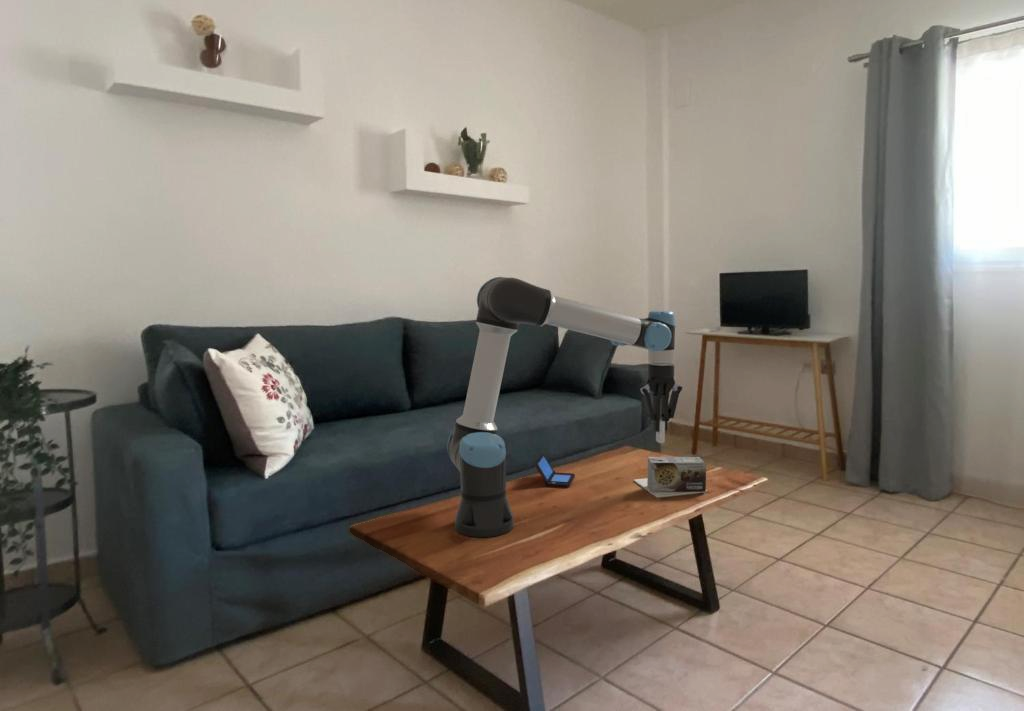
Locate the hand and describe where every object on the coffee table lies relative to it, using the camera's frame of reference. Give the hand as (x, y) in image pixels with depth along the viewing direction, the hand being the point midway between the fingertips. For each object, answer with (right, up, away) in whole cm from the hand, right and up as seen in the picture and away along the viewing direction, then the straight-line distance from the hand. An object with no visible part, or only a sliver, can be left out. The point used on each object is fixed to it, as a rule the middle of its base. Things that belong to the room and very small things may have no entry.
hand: (660, 441), depth 199 cm
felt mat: (+3, -14, +3) cm, 14 cm away
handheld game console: (-31, -14, +10) cm, 35 cm away
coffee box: (-4, -9, -1) cm, 10 cm away
